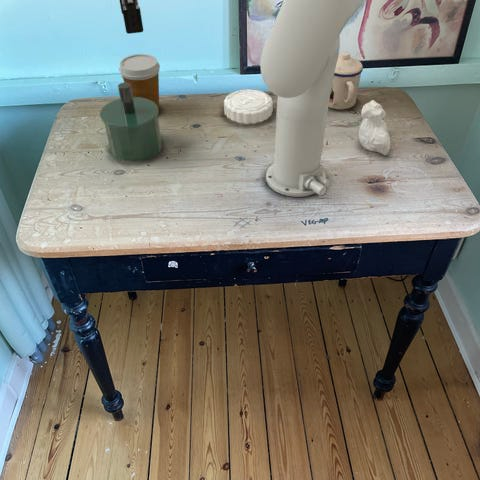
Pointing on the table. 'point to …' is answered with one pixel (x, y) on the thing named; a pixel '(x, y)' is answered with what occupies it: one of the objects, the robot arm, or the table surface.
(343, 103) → the teacup with lid
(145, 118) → the crock lid
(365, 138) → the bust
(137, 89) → the disposable coffee cup
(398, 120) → the table surface
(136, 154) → the crock
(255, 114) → the mooncake
